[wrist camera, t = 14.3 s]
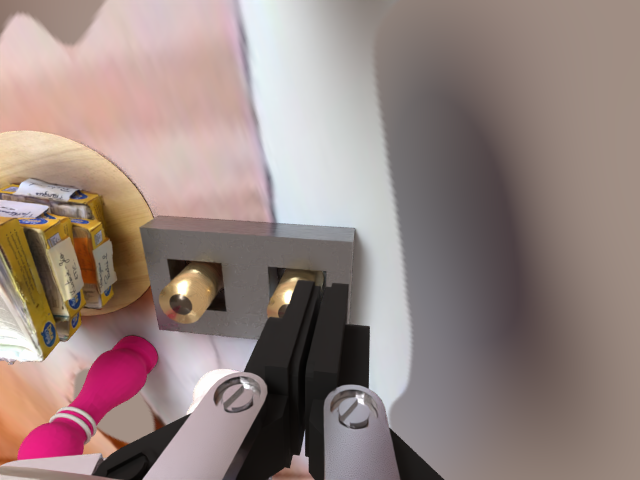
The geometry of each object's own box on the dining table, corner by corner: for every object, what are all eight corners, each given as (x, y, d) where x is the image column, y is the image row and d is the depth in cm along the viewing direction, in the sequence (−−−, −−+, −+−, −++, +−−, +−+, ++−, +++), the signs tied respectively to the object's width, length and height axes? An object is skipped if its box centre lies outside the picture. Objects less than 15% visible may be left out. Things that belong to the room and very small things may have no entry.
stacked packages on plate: (172, 171, 42) (57, 220, 27) (148, 332, 52) (55, 434, 37) (-29, 100, 42) (-258, 108, 27) (-13, 275, 52) (-173, 353, 37)
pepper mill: (171, 359, 54) (66, 501, 35) (140, 377, 56) (27, 519, 38) (136, 324, 52) (7, 454, 34) (106, 345, 54) (-30, 476, 36)
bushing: (283, 257, 44) (265, 291, 37) (324, 260, 44) (314, 296, 36) (284, 292, 46) (267, 331, 39) (323, 296, 46) (313, 336, 38)
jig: (158, 215, 44) (116, 241, 37) (354, 228, 41) (350, 258, 34) (174, 311, 50) (140, 350, 43) (349, 328, 47) (344, 373, 40)
